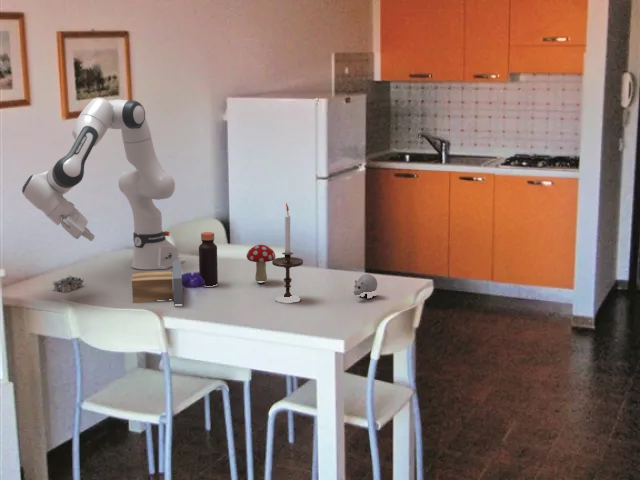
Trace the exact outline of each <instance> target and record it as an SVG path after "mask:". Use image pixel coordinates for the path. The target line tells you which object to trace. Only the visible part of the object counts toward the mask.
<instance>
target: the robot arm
mask: <svg viewBox="0 0 640 480" xmlns="http://www.w3.org/2000/svg"><path fill="white" fill-rule="evenodd" d="M108 129H112V130H121V137H122V142H123V147H124V151H125V153H124V154H125V156H126V160H127V161H128V162H129V164H131V165H132V166H133V167H134V168H135V169H131V170H126V171H123V172H122V173H121V175H120V176H119V178H118V183H117V184H118V188H119V191H120V192H121V193H122V194H123V195H124V196H125V198H126V199H127V201H128V202H129V205H130V207H131V211H132V215H133V227H134V228H133V229H134V232H133V235H132V236H133V244H134V246H133V255H132V263H131V267H132V268H134V269H138V270H167V269H169V268H173V261H181V264H182V263H185V261H186V260H185V259H184V257H180V256H179V255H180V254H179V250H178V248H177V247H176V245H174V244H173V243H171V242H170V241H168V240H167V239H166V237H170V235H171V232H170V231H167V230H165V231H163V226H162V225H163V222H162V221H163V220H162V212H161V211H160V209H159V208H157V206H156V205H155V203H154V201H153V200H157V201H160V200H164V199H169V198H171V197H172V196H173V195H174V192H175V191H176V190H175V189H176V184H175V180H174V178H173V176H171V175H170V174H169V173H167V171H166V170H165V169H164V167H163V166H162V164H161V163H160V161H159V159H158V157H157V154H156V152H155V147H154V144H153V140H152V139H153V138H152V134H151V130H150V126H149V123H148V121H147V118H146V112H145V108H144V106H143V105H142V104H141V103H140V102H139V101H136V100H133V99H130V100H127V99H120V98H119V99H117V98H116V99H108V100H107V99H105V98H103V97H96V98H93V99H92V100H90V101H89V103H87V105H85V107H84V108H83V109H82V111H81V112H80V113H79V115H78V117H77V118H76V121H75V122H74V125H73V127H72V131H71V134H72V137H73V138H74V143H73V145H72V146H71V148H70V150H69V151H68V153H67V154H66V155H65V156H63V157H61V158H60V159H58V160H57V162H56V163H54V166H52V167H51V169H48V170H46V171H44V172H40V173H38V174H32V175H30V176H29V177H27V180H26V181H25V182H24V184H23V186H22V188H21V191H22V194H23V197H25V199H27V200H28V202H30V203H31V204H32V205H33V206H34V207H35V208H36V209H38V210H40V211H41V212H42V213H44V215H45V216H46V218H48V219H49V220H50V221H51V222H53V224H55V225H56V226H59V225H61V227H62V228H63V229H64V230H65V231H66V232H67V233H68V234H69V235H71V236H72V238H74V239H76V240H79V238H80V237H84V238H85V239H87V240H88V241H90V242H92V241H94V239H95V235H94V234H93V233H92V232H91V230H90V229H89V228H88V227H87V225H88V222H89V220H88V219H87V218H86V216H84V215H83V213H81V212H80V211H79V210H78V209H77V208H76V206H75V204H74V203H73V202H71V201H70V200H68V199H67V198H65V197H64V194H67V193H68V192H69V191H70V190H72V189H73V188H74V187H75V186H77V185H78V184H79V183H81V181H83V178H84V175H85V163H86V161H87V158H88V157H89V156H90V154H91V152H92V150H93V148H94V147H95V146H97V145H98V144H99V143H100V141H101V140H102V138H103V137H104V136H105V135H106V133H107V131H108Z"/></svg>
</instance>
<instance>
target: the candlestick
mask: <svg viewBox="0 0 640 480" xmlns="http://www.w3.org/2000/svg"><path fill="white" fill-rule="evenodd" d="M285 207H286V208H285V209H286V214H285V215H284V252H282V253H281V254H282V255H284V256H283V257H275V259H273V260H272V261H271V264H272V265H273V266H276V267H279V268H284V269H285V277H284V278H283V282H284V283H285V285H284V286H283V287H284V288H285V293H284V297H290V296H292V295H291V294H292V293H291V292H290V291H291V290H290V289H291V288H292V285H291V282H292V280H293V279H292V278H291V276H290V275H291V272H290V271H291V270H290V269H291V268H295V267H297V268H298V267H300V266H303V264H304V259H302V258H299V257H294V256H292V255H294V252H291V215H290V214H289V209H290V208H289V206H288V203H287V202H286V203H285Z"/></svg>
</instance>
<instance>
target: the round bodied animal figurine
mask: <svg viewBox="0 0 640 480" xmlns="http://www.w3.org/2000/svg"><path fill="white" fill-rule="evenodd" d="M354 283H355V284H354V287H353V288H354V289H353V294H354V296H356V295H360V294H361V293H363V292H372V291H375V290H377V288H378V281H377V278H376V277H375V276H374V275H372V274H369V273H365V274H362V275H361V276H360V277H359V278H358V279H355V280H354Z"/></svg>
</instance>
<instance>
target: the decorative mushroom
mask: <svg viewBox="0 0 640 480" xmlns="http://www.w3.org/2000/svg"><path fill="white" fill-rule="evenodd" d="M245 257H246V260H248V261H249V262H253V263H256V264H255V266H256V271H255V278H254V279H255V281H256V282H257V281H266V282H267V280H268V275H267V269H266V268H267V263H268V262H272V260H273V259H276V258H277V256H276V253H275V251H274V250H273V249H272V248H271V247H270V246H267V245H266V244H265V245H264V244H257V245H254V246H253V247H251V248H250V249H249V250H248V251H247V253H246V256H245Z"/></svg>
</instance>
